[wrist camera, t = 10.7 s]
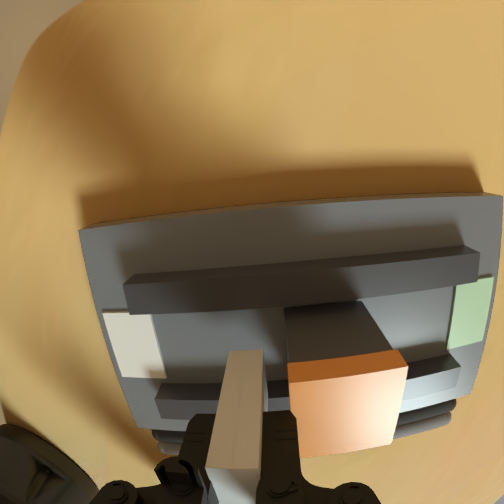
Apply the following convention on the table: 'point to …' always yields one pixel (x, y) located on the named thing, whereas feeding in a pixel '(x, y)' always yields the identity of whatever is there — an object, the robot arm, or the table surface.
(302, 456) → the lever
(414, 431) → the grey twin rods
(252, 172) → the table surface
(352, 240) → the panel
